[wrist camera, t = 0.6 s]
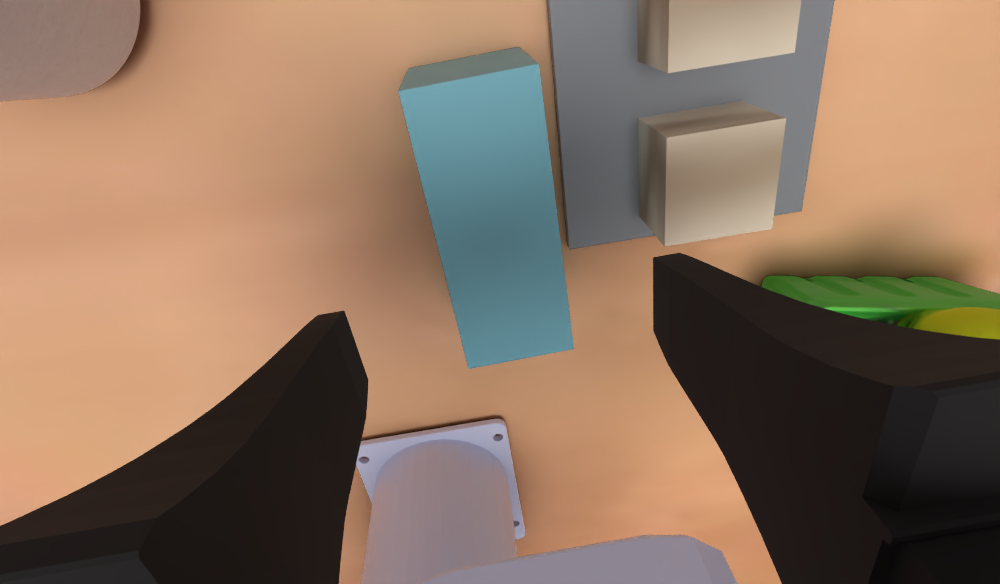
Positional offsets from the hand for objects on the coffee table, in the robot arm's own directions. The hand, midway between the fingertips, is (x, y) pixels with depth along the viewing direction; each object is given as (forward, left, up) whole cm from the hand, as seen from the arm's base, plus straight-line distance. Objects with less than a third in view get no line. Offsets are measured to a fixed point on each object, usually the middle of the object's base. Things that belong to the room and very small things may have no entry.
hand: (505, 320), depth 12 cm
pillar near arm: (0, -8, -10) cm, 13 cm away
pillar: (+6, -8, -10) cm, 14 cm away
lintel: (0, 0, -11) cm, 11 cm away
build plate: (+3, -8, -10) cm, 13 cm away
